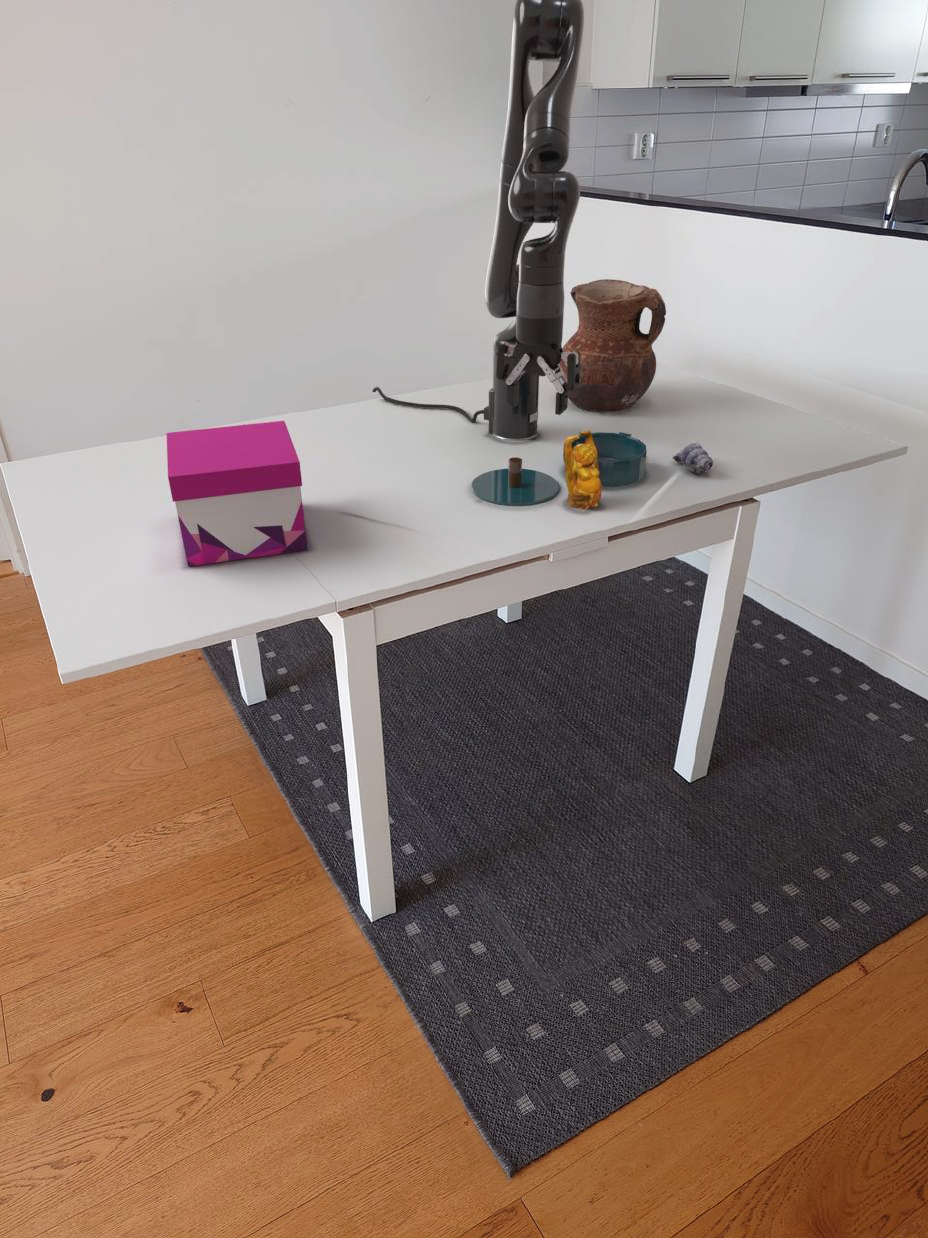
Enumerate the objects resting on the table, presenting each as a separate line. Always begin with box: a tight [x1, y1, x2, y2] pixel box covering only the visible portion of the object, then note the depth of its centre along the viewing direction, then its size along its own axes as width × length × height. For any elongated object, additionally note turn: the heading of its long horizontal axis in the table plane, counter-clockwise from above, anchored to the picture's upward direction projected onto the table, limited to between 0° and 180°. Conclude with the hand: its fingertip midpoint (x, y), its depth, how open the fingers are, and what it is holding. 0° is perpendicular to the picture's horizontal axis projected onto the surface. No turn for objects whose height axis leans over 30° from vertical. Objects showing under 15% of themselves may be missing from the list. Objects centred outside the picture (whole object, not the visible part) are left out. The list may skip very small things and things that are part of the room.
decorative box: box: [166, 420, 308, 567], centre depth 142 cm, size 19×19×15 cm
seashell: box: [672, 442, 714, 474], centre depth 166 cm, size 5×5×10 cm
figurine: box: [562, 429, 603, 510], centre depth 151 cm, size 6×7×13 cm
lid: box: [471, 456, 559, 507], centre depth 158 cm, size 16×16×6 cm
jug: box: [559, 278, 667, 413], centre depth 194 cm, size 22×21×25 cm
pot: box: [564, 431, 648, 488], centre depth 164 cm, size 15×20×5 cm
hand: (536, 409), depth 150 cm, fingers open, 8 cm apart
